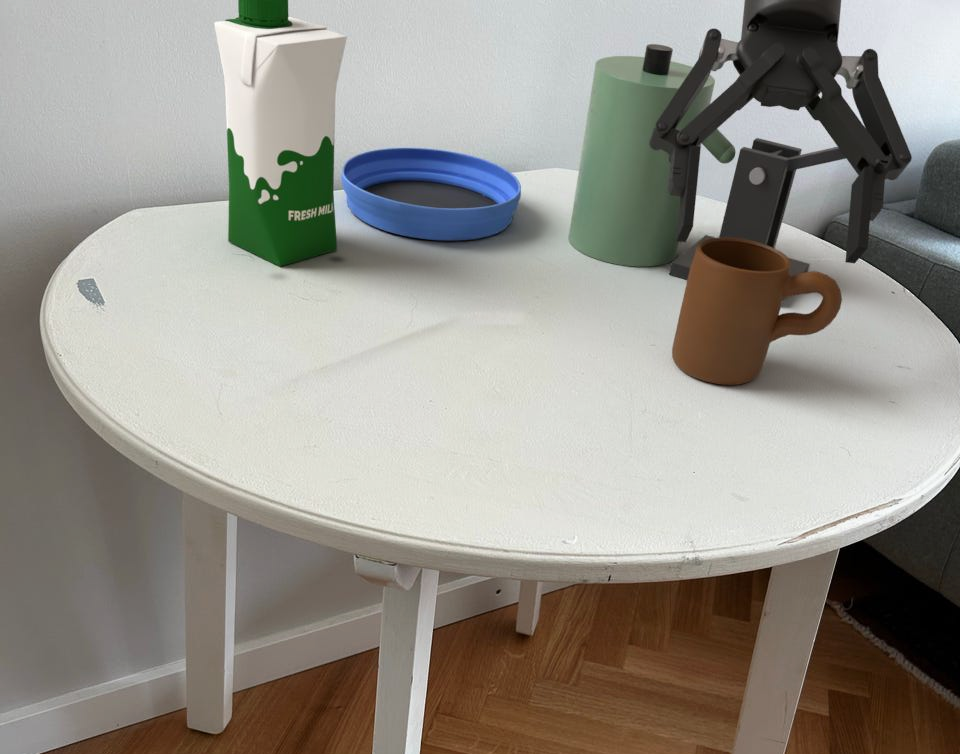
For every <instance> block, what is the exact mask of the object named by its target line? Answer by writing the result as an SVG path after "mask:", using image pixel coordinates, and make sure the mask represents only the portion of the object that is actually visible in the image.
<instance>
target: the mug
mask: <svg viewBox="0 0 960 754" xmlns="http://www.w3.org/2000/svg"><path fill="white" fill-rule="evenodd" d="M788 258H789V257H788V256H787V255H786V254H785V253H783V252H782V251H781V250H778V249H776V247H775V248H772V247H770V246H767V245H765V244H762V243H758V242H755V241H750V240H745V239H739V238H728V237H720V238H719V237H715V238H711V239H707V240H704V241H702V242H701V243H699V245H698V246H697V248H696V252H695V255H694V258H693V261H692V264H691V267H690V271H689V275H688V280H686V285H685V289H684V293H683V297H682V302H681V306H680V311H679V315H678V321H677V324H676V329H675V334H674V338H673V343H672V348H671V357H672V361H673V363H674V364H675V365H676V366H677V367H678V369H679V370H681V371H682V372H683V373H685V374H687V375H688V376H690V377H692V378H695V379H697V380H700V381H703V382H706V383H710V384H716V385H724V386H736V385H737V386H738V385H743V384H747V383H749V382H752V381H753V380H755V379H756V378H757V377H758V376H759V375H760V373H761V371H762V369H763V367H764V364H765V361H766V358H767V354H768V351H769V348H770V346H771V345H770V344H771V343H772V342H774V341H777V340H779V339H781V338H785V337H787V336H810V335H814V334H816V333H819V332H821V331H822V330H824V329H826V328H827V327H828V326H830V325H831V323H832V322H833V321H834V320H835V318H836V317H837V316H838V315H839V312H840V310H841V307H842V306H841V305H842V302H843V298H842V290H841V288H840V286H839V284H838V282H837V281H836V280H835V279H834V278H832V277H831V276H829V275H828V274H825V273H823V272H819V271H815V270H814V271H813V270H812V271H808V272H807V273H801V274H795V275H790V274H789V272H790V267H791V264H790V260H789V259H788ZM813 293H814V294H818V295H820V296H821V297H822V300H821V302H820V304H819V305H818V307H817V308H816V309H814V310H813V311H811V312H809V313H801V312H785V313H781V314H780V311H781V307H782V304H783V302H784V301H783V299H784V298H785V297H786V298H789V297H794V296H802V295H807V294H813ZM782 301H783V302H782Z"/></svg>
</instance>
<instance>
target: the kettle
mask: <svg viewBox="0 0 960 754" xmlns="http://www.w3.org/2000/svg"><path fill="white" fill-rule="evenodd" d="M673 51H674V49H673V48H672V47H670V46H668V45H664V44H659V43H656V44H655V43H649V44H647V45H646V47H645V52H644V56H635V55H617V56H606V57H603V58H600V59H597V60H596V61H595V64H594V72H593V78H592V83H591V91H590V97H589V103H588V109H587V116H586V122H585V129H584V135H583V140H582V141H583V142H582V148H581V155H580V161H579V167H578V174H577V179H576V187H575V192H574V199H573V206H572V212H571V218H570V225H569V232H568V241H569V243H570V245H571V246H572V247H573V248H574V249H575V250H577V251H578V252H579V253H581V254H583V255H586V256H587V257H590V258H593V259H595V260H598V261H602V262H605V263H609V264H614V265H618V266H626V267H641V268H642V267H643V268H644V267H646V268H647V267H658V266H662V265H666V264H668V263H672V262H673V261H674V260H675V259H677V257H678V252H679V247H680V243H681V242H677V241H676V237H677V226H678V216H679V206H680V197H679V196H671V195H670V194H669V191H668V183H669V173H670V162H669V154H668V153H667V152H665V151H663V150H661V149H660V150H653V149H652V148H651V147H650V145H649V141H650V138H651V135H652V132H653V129H654V126H655V124H656V122H657V120H658V119H659V117H660V116H661V114H662V113H663V111H664V110H665V108H666V107H667V105H668V104H669V102H670V101H671V99H672V98H673V96H674V95H675V93H676V92H677V90H678V89H679V87H680V86H681V84H682V83H683V81H684V80H685V78H686V77H687V75H688V74H689V72H690V71H691V69H692V68H693V66H692V65H687V64H684V63H680V62H676V61H672V57H673ZM715 84H716V79H715V78H714V77H713V76H712V75H711V74H710V75H709V78H708V80H707V82H706V83H705V85H704V87H703V88H702V90H701V91H700V93H699V94H698V96H697V97H696V99H695V100H694V102H693V103H692V105H691V106H690V107H689V109H688V110H687V112H686V113H685V115H684V116H683V118H682V119H681V121H680V122H679V124H678V125H677V127H676V128H675V129H677V130H679V131H681V130H682V129H683V128H684V127H685V126H686V125H687V124H689V123H690V122H691V121H692V120H693V119H694V118H695V117H696V116H697V115H699V114H700V113H701V112H702V111H703V110H704V109H705V108H706V107H707V106H709V105H710V104H711V103H712V97H713V94H714V89H715ZM698 146H699V147H701V148H702V146H703V147H704V148H705V149H706V150H707V151H708V152H709V153H710V154H711V155H712V157H714V159H716V161H718V162H719V163H721V164H724V165H725V164H726V165H727V164H729V163H731V162H732V161H733V160H734V159H735V157H736V152H737V151H736V148H735V146H734V144H733V143H731V141H730V140H729V139H728V138H727V137H726V136H725V135H724V134H723V133H722V132H721V131H720V130H719V129H718V128H717V129H716V130H715V131H714V132H713V133H712V134H711V135H709V136H708V137H707V138H706V139H705V140H704V141H703V142H702V143H701V144H700V145H698Z"/></svg>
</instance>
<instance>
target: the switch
mask: <svg viewBox="0 0 960 754" xmlns="http://www.w3.org/2000/svg"><path fill="white" fill-rule="evenodd" d="M771 154H775V155H779V156H783V150H779V151H775V152H771ZM789 158H790V160H789V164H788V168H787V171H791V170H796V171H797V170H799V169H800V170H801V169H805V168H810V167H814V166H820V165H823V164H828V163H832V162H833V163H834V162H836V161H837V162H838V161H842V160H847V159H846V157H845V156H844V154H843V153H842V152H841V150H840V149H839V147H838V146H834V147H830V148H826V149H825V148H824V149H821V150H817V151H812V152H807V153H803V154H802V153H801V154H800V155H798V156H794V157H789ZM785 177H786V175H785Z"/></svg>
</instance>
